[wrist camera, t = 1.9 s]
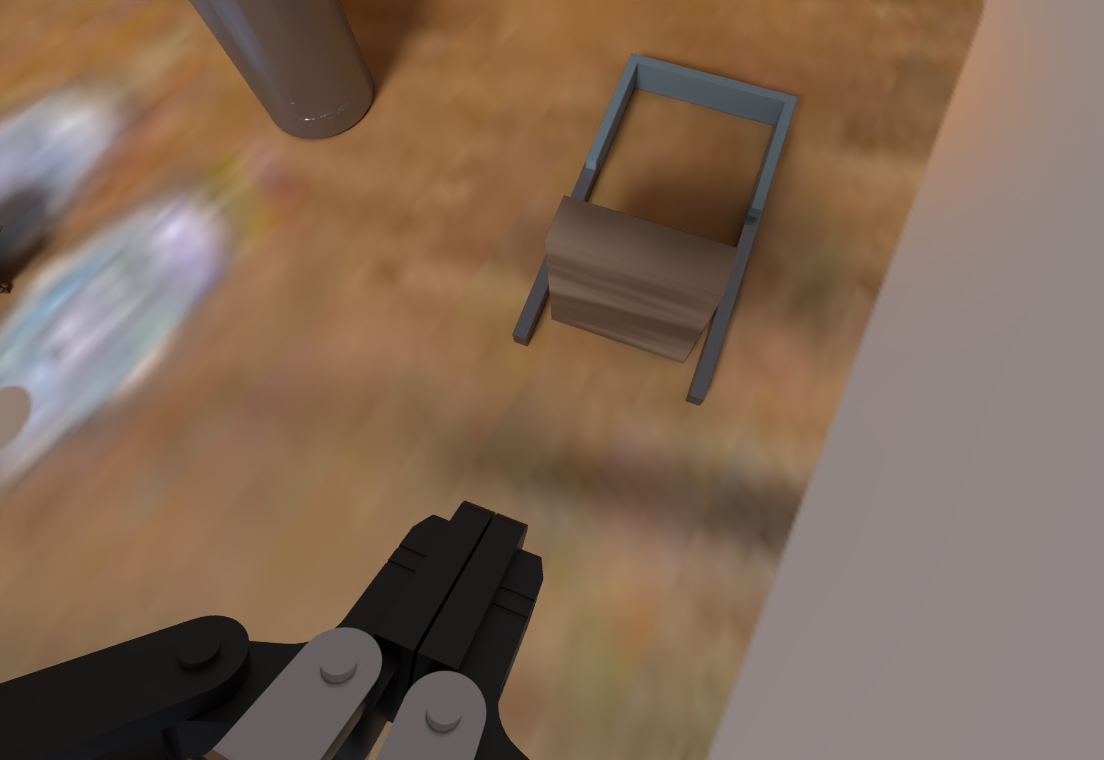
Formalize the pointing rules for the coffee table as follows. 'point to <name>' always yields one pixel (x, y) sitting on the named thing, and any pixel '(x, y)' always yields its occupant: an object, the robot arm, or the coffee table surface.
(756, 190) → the blue-grey rectangular frame
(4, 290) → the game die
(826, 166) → the coffee table surface
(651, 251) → the board
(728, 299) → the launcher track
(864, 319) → the coffee table surface
